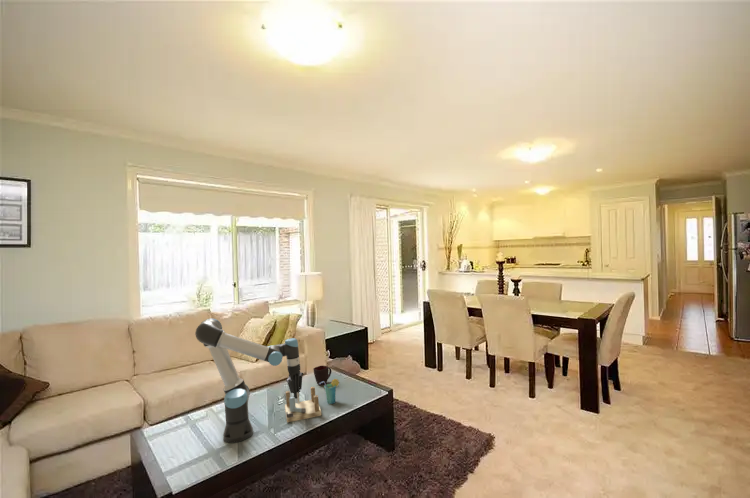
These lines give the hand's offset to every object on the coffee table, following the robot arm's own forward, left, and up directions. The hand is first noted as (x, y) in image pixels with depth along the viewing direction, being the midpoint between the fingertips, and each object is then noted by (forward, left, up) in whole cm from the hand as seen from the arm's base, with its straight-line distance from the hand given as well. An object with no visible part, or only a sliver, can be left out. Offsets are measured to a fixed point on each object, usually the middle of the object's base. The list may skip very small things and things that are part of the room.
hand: (297, 402), depth 218 cm
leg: (0, -4, -3) cm, 6 cm away
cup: (+21, +7, -7) cm, 23 cm away
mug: (+23, +44, -7) cm, 50 cm away
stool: (+3, +1, -6) cm, 7 cm away
